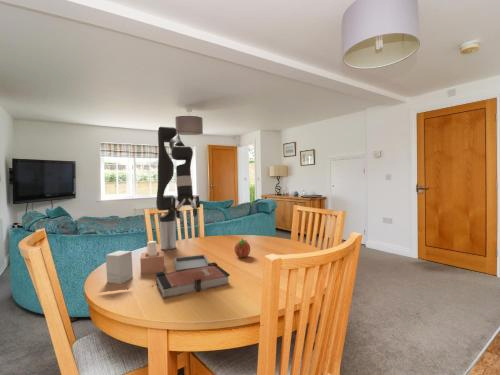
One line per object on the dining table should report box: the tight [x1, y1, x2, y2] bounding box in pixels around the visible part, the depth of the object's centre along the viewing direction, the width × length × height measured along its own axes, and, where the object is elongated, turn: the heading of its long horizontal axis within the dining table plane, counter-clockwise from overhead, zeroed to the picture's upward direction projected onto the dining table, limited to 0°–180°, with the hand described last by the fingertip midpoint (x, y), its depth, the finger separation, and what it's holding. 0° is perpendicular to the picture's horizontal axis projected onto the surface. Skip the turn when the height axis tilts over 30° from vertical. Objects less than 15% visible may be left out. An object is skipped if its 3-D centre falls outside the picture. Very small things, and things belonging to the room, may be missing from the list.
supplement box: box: [105, 250, 134, 285], centre depth 116 cm, size 7×7×13 cm
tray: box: [173, 254, 210, 272], centre depth 135 cm, size 20×16×2 cm
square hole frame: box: [139, 250, 165, 275], centre depth 129 cm, size 10×10×8 cm
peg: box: [146, 240, 158, 257], centre depth 129 cm, size 4×4×13 cm
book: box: [155, 262, 231, 300], centre depth 112 cm, size 26×18×5 cm
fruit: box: [234, 238, 251, 259], centre depth 149 cm, size 9×10×10 cm
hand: (186, 217), depth 137 cm, fingers open, 8 cm apart
